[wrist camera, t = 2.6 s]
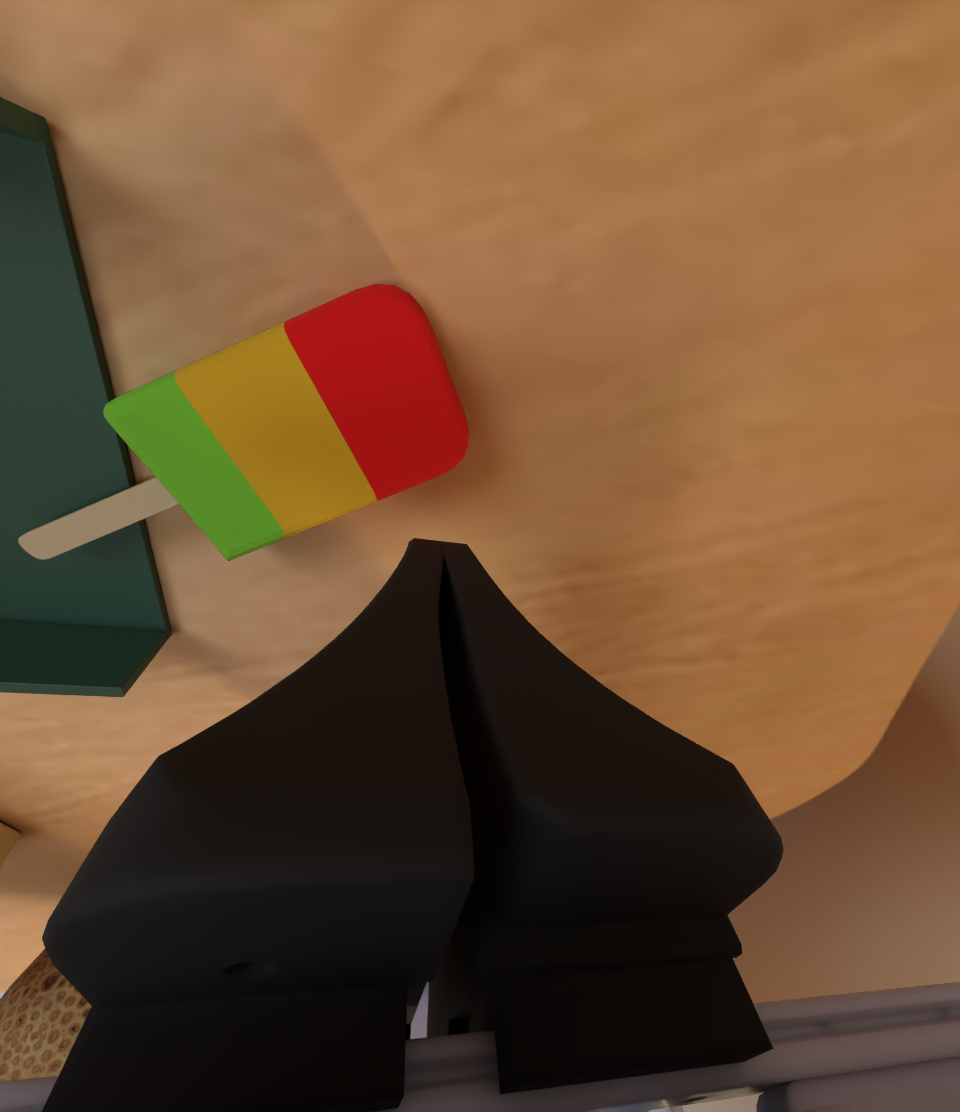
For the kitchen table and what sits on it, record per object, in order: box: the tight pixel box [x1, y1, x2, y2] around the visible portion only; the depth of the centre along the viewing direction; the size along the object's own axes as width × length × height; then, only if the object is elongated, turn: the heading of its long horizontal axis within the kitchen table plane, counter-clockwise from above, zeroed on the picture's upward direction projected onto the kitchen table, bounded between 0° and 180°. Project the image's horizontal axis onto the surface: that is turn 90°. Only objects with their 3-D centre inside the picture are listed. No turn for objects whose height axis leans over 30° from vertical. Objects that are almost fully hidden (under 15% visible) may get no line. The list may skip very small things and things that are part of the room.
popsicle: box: [18, 284, 469, 561], centre depth 13 cm, size 6×15×2 cm, turn 110°
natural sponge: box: [0, 949, 92, 1082], centre depth 25 cm, size 9×9×10 cm
